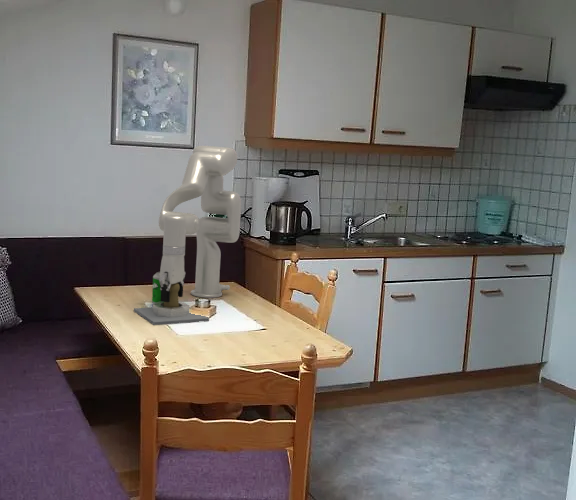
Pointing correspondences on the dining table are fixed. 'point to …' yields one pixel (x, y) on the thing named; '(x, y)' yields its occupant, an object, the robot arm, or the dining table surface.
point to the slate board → (159, 320)
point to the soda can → (156, 289)
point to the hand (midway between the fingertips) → (171, 299)
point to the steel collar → (171, 310)
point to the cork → (173, 296)
